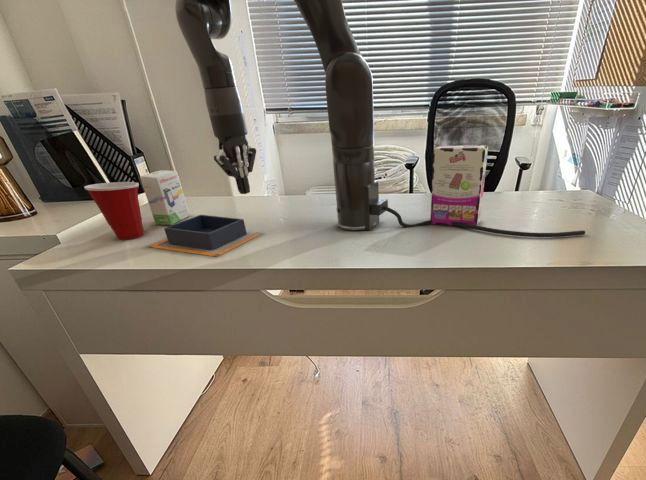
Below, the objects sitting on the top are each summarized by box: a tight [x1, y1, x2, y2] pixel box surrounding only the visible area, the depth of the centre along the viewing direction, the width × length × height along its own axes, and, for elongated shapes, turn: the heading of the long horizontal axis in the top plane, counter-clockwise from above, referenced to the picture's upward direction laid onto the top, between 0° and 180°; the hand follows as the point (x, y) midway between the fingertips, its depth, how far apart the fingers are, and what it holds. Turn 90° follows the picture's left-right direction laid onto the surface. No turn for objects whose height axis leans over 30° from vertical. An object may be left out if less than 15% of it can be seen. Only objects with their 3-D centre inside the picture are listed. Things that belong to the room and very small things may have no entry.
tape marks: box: [148, 233, 261, 258], centre depth 88 cm, size 20×15×1 cm
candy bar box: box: [429, 145, 489, 227], centre depth 87 cm, size 11×5×16 cm, turn 68°
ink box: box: [139, 169, 191, 226], centre depth 100 cm, size 9×5×12 cm, turn 168°
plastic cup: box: [83, 181, 145, 241], centre depth 90 cm, size 11×11×12 cm
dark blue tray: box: [163, 214, 248, 251], centre depth 89 cm, size 13×11×4 cm
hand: (245, 193), depth 97 cm, fingers closed
